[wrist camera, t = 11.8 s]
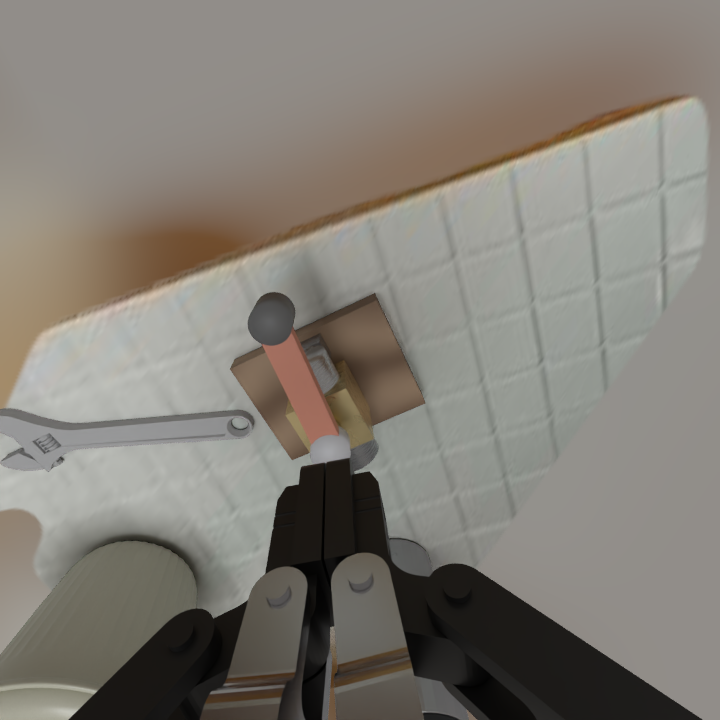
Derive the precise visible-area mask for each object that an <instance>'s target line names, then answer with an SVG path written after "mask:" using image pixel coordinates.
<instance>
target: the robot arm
mask: <svg viewBox="0 0 720 720" xmlns="http://www.w3.org/2000/svg"><path fill="white" fill-rule="evenodd" d="M273 528H274V529H273V531H272V537H271V543H270V549H269V555H268V561H267V567H266V573H265V575H263V576H262V577H261V578H260V579H259V580H258V581H257V582H256V584H255V585H254V586H253V588H252V590H251V593H250V595H249V599H248V600H247V601H246V602H244V603H243V604H242V605H240V606H238V607H236V608H234V609H232V610H230V611H228V612H226V613H224V614H222V615H220V616H218V617H216V618H214V619H213V617H212V615H211V614H210V613H209V612H208V611H206V610H204V609H190V610H186V611H184V612H181V613H179V614H178V615H176V616H174V617H173V618H172V619H170V620H169V621H168V622H167V623H166V624H165V625H164V626H163V627H162V628H161V629H160V630H159V631H158V632H157V633H156V634H154V635H153V636H152V637H151V638H150V639H149V640H148V641H147V642H146V643H145V644H144V645H143V646H142V647H141V648H140V649H139V650H138V651H137V652H136V653H135V654H134V655H133V656H132V657H131V658H130V659H129V660H128V661H127V662H126V663H125V664H124V665H123V666H122V667H121V668H120V669H119V670H118V671H117V672H116V673H115V674H114V675H113V676H112V677H111V678H110V679H109V680H108V681H107V682H106V683H105V684H104V685H103V686H102V687H101V688H100V689H99V690H98V691H97V692H96V693H95V694H94V695H93V696H92V697H91V698H90V699H89V700H88V701H87V702H86V703H85V704H84V705H83V706H82V707H81V708H80V709H79V710H78V711H77V712H76V713H75V714H73V715H72V716H71V717H70V718H69V719H68V720H328V709H329V695H330V681H331V667H332V655H331V651H330V627H332V626H334V628H335V640H336V653H337V667H338V669H337V673H335V676H334V692H335V706H336V719H337V720H469V718H468V714H467V710H468V711H469V712H470V713H471V714H472V715H473V716H474V717H475V718H476V719H477V720H702V719H701V718H699V717H697V716H696V715H695V714H693V713H692V712H690V711H688V710H687V709H685V708H684V707H683V706H681V705H680V704H678V703H677V702H675V701H674V700H672V699H670V698H669V697H667V696H666V695H664V694H663V693H661V692H660V691H658V690H657V689H655V688H654V687H652V686H651V685H649V684H648V683H646V682H645V681H643V680H642V679H640V678H639V677H637V676H636V675H634V674H633V673H631V672H630V671H628V670H627V669H625V668H624V667H622V666H621V665H619V664H618V663H616V662H615V661H613V660H612V659H610V658H609V657H607V656H606V655H604V654H603V653H601V652H600V651H598V650H597V649H595V648H594V647H592V646H591V645H589V644H588V643H586V642H585V641H583V640H582V639H580V638H579V637H577V636H575V635H574V634H573V633H571V632H570V631H568V630H566V629H565V628H563V627H562V626H560V625H559V624H557V623H556V622H554V621H553V620H551V619H550V618H548V617H547V616H545V615H544V614H542V613H541V612H539V611H538V610H536V609H535V608H533V607H532V606H530V605H529V604H527V603H526V602H524V601H523V600H521V599H520V598H518V597H517V596H515V595H513V594H512V593H511V592H509V591H508V590H506V589H505V588H503V587H502V586H500V585H499V584H497V583H496V582H494V581H493V580H491V579H489V578H488V577H486V576H485V575H484V574H482V573H481V572H479V571H478V570H476V569H474V568H472V567H470V566H467V565H464V564H448V565H444V566H442V567H440V568H438V569H436V570H435V571H434V572H433V571H432V567H431V563H430V559H429V556H428V554H427V552H426V551H425V550H424V549H423V548H422V547H421V546H419V545H417V544H416V543H413V542H410V541H407V540H401V539H391V540H389V537H388V530H387V523H386V517H385V513H384V508H383V503H382V498H381V493H380V489H379V484H378V481H377V480H376V479H375V477H374V476H373V475H372V474H371V473H370V471H369V472H364V473H358V474H354V470H353V466H352V462H351V459H350V458H345V459H340V460H334V461H329V462H326V463H325V462H324V463H319V464H313V465H308V466H302V467H301V470H300V479H299V485H294V486H288V487H286V488H285V490H284V491H283V493H282V494H281V496H280V497H279V499H278V501H277V507H276V513H275V519H274V525H273ZM466 709H467V710H466Z"/></svg>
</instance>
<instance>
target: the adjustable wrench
mask: <svg viewBox="0 0 720 720" xmlns="http://www.w3.org/2000/svg"><path fill="white" fill-rule="evenodd" d="M236 417H237V418H243V419H245V420H246V421H247V422H248V427H247V428H246V429H243V430H239V429H236V428H234V427H233V426H232V425H231V421H232V419H233V418H236ZM253 425H254V420H253V417H252V416H251V415H250V414H249V413H247V412H246V411H242V410H235V411H223V412H211V413H199V414H187V415H175V416H163V417H151V418H139V419H127V420H115V421H103V422H92V423H66V422H60V421H56V420H51V419H47V418H43V417H40V416H36V415H33V414H30V413H27V412H24V411H21V410H16V409H5V408H3V409H0V433H2V434H5V435H7V436H9V437H12V438H14V439H15V440H16V441H17V442H18V443H19V444H20V445H21V446H22V447H23V448H21V449H19V450H17V451H15V452H13V453H10V454H8V455H7V456H6V457H5V458H4V459H3V460H2V461H1V462H0V464H1V465H2V466H4V467H7V468H11V469H15V470H22V471H33V470H41V469H46V470H47V471H48V472H49V471H50V470H51V469H52V468H53V467H56V466H58V465H60V464H61V463H62V462H63V460H62V459H61V458H60V456H62V455H63V454H65V453H67V452H69V451H73V450H77V449H86V448H102V447H118V446H133V445H149V444H164V443H180V442H195V441H211V440H227V439H241V438H245V437H247V436H249V435H250V433H251V431H252V429H253Z"/></svg>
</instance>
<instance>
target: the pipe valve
mask: <svg viewBox="0 0 720 720" xmlns="http://www.w3.org/2000/svg"><path fill="white" fill-rule="evenodd" d="M300 343H301V346H302V348H303V350H304V352H305V354H306V357H307V359H308V361H309V363H310V366H311V368H312V370H313V372H314V374H315V377H316V379H317V381H318V383H319V385H320V388H321V390H322V392H323V394H324V397H325V399H326V401H327V403H328V405H329V408H330V410H331V412H332V414H333V416H334V419H335V421H336V423H337V425H338V426H340V427H342V428H343V429H344V430H346V432H347V433H348V435H349V437H350V450H351V455H350V459H351V462H352V466H353V470H354V471H356V470H359V469H361V468H363V467H365V466H366V465H367V464H369V463H370V462H371V461H372V460H373V459H374V457H375V456H376V454H377V452H378V443H377V442H376V440H375V438H374V435H373V428H372V422H371V415H370V408H369V405H368V403H367V401H366V399H365V397H364V395H363V393H362V392H361V390H360V388H359V386H358V384H357V382H356V381H355V379H354V377H353V375H352V373H351V371H350V369H349V368H348V366H347V364H346V362H345V360H342V361H340V362H338V363H336V364H333V363H332V361H331V352H330V350H329V348H328V346H327V345H326V343H325V341H324V339H323V337H322V336H321V334H320V333H319V334H317V335H315V336H313V337H311V338H308V339H306V340H304V341H302V342H300ZM285 416H286V417H287V419H288V420H289V422H290V423H291V425H292V426H293V428H294V429H295V431H296V432H297V434H298V435H299V437H300V439H301V440H302V442H303V443H304V445H305V446H306V448H307V449H308V451H309V452H310V448H311V443H310V441H309V439H308V437H307V435H306V433H305V431H304V429H303V427H302V425H301V423H300V421H299V419H298V417H297V415H296V413H295V411H294V409H293V407H292V405H291V402H290V400H289V398H288V404H287V409H286V415H285Z"/></svg>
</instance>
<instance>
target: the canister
mask: <svg viewBox="0 0 720 720" xmlns="http://www.w3.org/2000/svg"><path fill="white" fill-rule="evenodd" d="M196 603H197V587H196V581H195V578H194V576H193V572H192V571H191V570H190V568H189V566H188V564H186V563H185V562H184V560H183V559H182V558H180V557H179V556H178V555H177V554H175V553H173V552H171V550H169V549H165V548H164V547H163V546H158V545H155V544H154V543H153V544H151V543H147V542H139V541H124V542H119V541H118V542H115V543H110V544H107V545H105V546H102V547H99V548H97V549H96V550H94V551H92V552H90V553H89V554H87V555H86V556H85V557H83V558H82V559H81V560H80V561H79V562H77V563H76V564H75V565H74V566H73V567H72V568H71V570H70V571H69V572H68V573H67V574H66V575H65V576H64V578H63V579H62V580H61V581H60V582H59V583H58V585H57V586H56V587H55V588H54V589H53V591H52V592H51V593H50V594H49V595H48V596H47V598H46V599H45V600H44V601H43V602H42V604H41V605H40V606H39V607H38V609H37V610H36V611H35V612H34V614H33V615H32V616H31V617H30V618H29V620H28V621H27V622H26V623H25V625H24V626H23V627H22V628H21V630H20V631H19V632H18V633H17V635H16V636H15V637H14V638H13V640H12V641H11V642H10V643H9V645H8V646H7V647H6V648H5V650H4V651H3V652H2V653H1V654H0V720H68V719H69V718H70V717H71V716H72V715H73V714H75V713H76V712H77V711H78V710H79V709H80V708H81V707H82V706H83V705H84V704H85V703H86V702H87V701H88V700H89V699H90V698H91V697H92V696H93V695H94V694H95V693H96V692H97V691H98V690H99V689H100V688H101V687H102V686H103V685H104V684H105V683H106V682H107V681H108V680H109V679H110V678H111V677H112V676H113V675H114V674H115V673H116V672H117V671H118V670H119V669H120V668H121V667H122V666H123V665H124V664H125V663H126V662H127V661H128V660H129V659H130V658H131V657H132V656H133V655H134V654H135V653H136V652H137V651H138V650H139V649H140V648H141V647H142V646H143V645H144V644H145V643H146V642H147V641H148V640H149V639H150V638H151V637H152V636H153V635H154V634H156V633H157V632H158V631H159V630H160V629H161V628H162V627H163V626H164V625H165V624H166V623H167V622H168V621H169V620H170V619H172V618H173V617H174V616H176V615H178V614H179V613H181V612H184V611H186V610H190V609H196Z"/></svg>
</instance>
